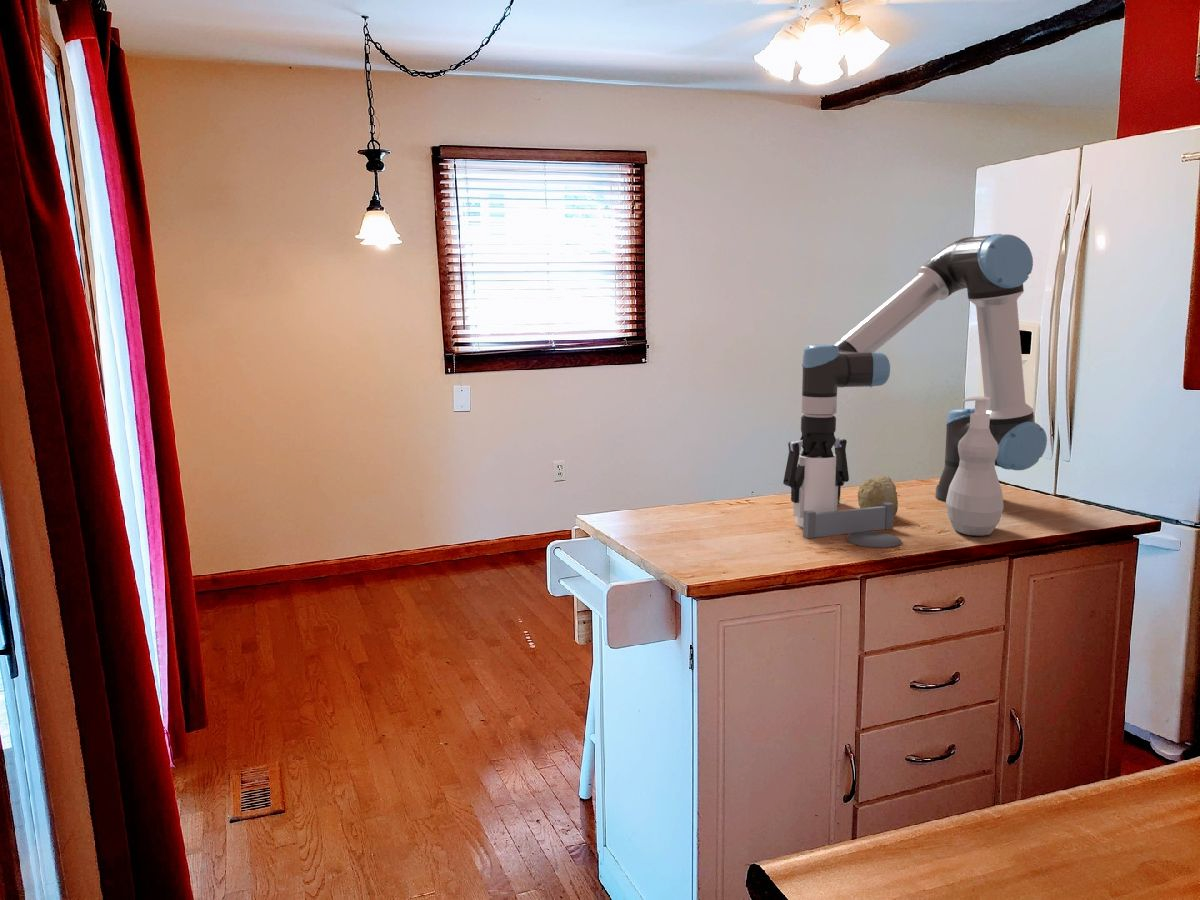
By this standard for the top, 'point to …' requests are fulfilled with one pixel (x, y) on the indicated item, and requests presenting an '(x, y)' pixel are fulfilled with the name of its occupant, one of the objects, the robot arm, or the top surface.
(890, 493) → the beige rough lump
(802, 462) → the cup
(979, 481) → the soap bottle
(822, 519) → the grey barrier wall
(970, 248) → the robot arm
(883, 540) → the slate coaster
